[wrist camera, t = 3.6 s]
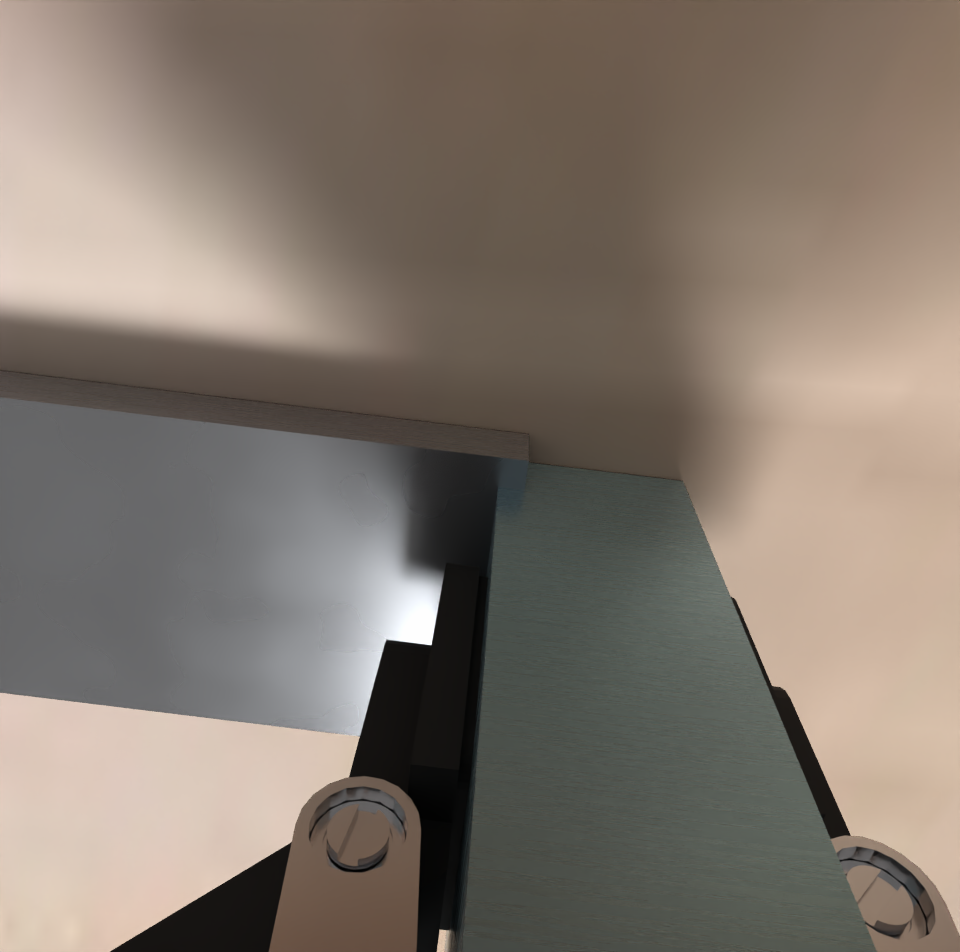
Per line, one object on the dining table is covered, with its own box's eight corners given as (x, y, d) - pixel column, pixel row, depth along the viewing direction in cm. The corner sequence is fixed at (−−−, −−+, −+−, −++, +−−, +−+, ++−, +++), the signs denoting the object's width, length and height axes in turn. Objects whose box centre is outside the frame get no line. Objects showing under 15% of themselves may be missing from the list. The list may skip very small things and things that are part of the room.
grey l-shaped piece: (690, 452, 12) (1031, 1183, 4) (619, 728, 15) (731, 1495, 7) (-359, 327, 12) (-2185, 785, 4) (-236, 624, 15) (-1163, 1254, 7)
